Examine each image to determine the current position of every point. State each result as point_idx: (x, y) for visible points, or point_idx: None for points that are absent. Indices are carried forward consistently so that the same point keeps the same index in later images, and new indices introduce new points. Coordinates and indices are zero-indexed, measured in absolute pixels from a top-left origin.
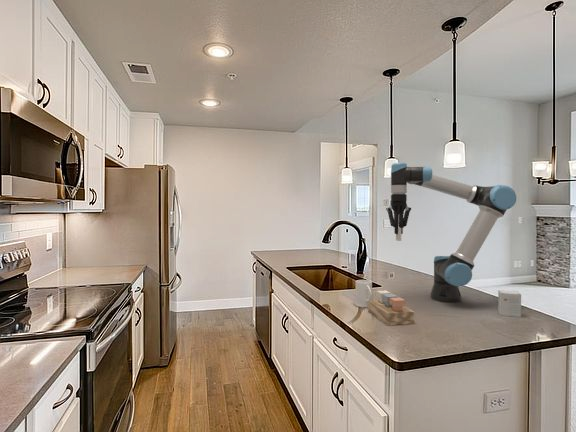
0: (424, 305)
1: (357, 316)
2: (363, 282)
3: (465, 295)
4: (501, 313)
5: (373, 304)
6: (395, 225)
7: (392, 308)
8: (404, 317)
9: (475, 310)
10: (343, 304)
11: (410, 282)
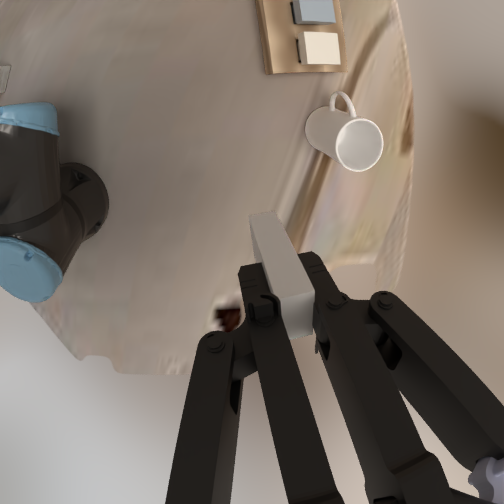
0: (148, 121)
1: (369, 44)
2: (349, 165)
3: None
4: (8, 65)
5: (344, 39)
6: (358, 315)
7: None
8: None
9: (39, 93)
10: None
11: (136, 340)
